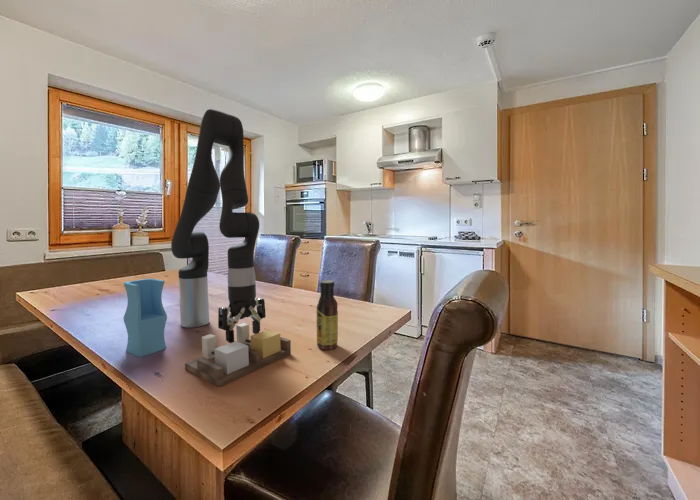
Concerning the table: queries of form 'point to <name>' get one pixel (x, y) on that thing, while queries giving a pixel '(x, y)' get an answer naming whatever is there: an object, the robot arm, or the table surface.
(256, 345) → the ochre block
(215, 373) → the lane rack
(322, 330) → the sauce bottle
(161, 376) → the table surface
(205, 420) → the table surface
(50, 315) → the table surface
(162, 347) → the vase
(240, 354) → the white block with handle
